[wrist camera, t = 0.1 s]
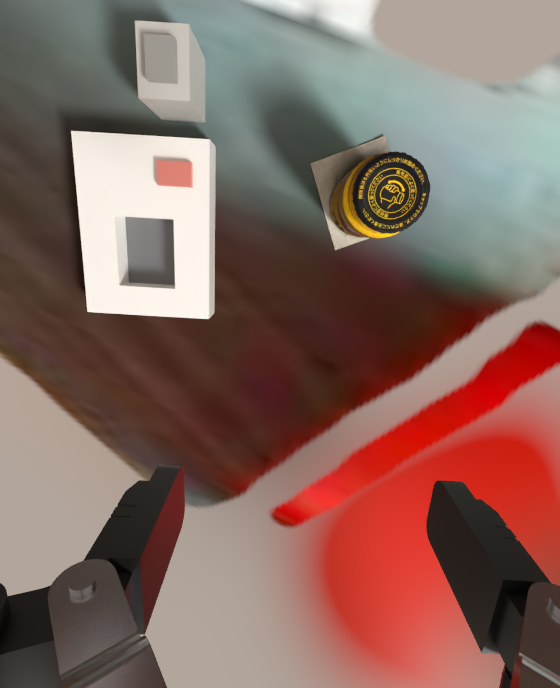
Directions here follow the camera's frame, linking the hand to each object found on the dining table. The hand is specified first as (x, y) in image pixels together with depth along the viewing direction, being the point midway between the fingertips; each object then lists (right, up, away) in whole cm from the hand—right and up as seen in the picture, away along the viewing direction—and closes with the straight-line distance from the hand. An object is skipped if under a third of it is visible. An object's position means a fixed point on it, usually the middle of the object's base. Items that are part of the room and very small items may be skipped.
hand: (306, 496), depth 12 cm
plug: (-10, +28, +22) cm, 37 cm away
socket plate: (-13, +16, +26) cm, 33 cm away
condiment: (+7, +19, +25) cm, 32 cm away
